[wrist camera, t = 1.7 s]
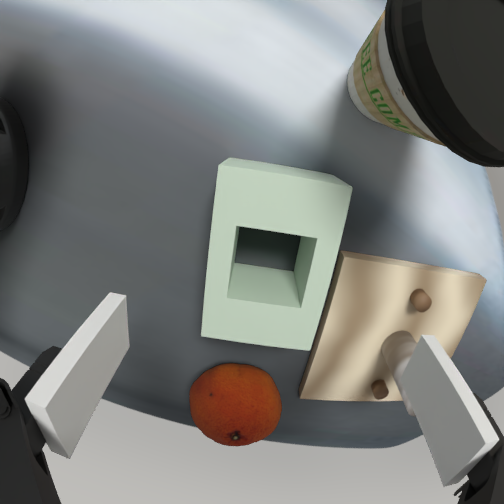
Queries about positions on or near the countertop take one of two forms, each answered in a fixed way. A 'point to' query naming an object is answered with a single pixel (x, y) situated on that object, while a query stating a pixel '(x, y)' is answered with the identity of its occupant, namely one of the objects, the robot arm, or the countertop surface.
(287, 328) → the green block with window
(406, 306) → the post base
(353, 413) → the countertop surface
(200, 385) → the fruit
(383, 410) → the countertop surface
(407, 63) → the coffee cup
